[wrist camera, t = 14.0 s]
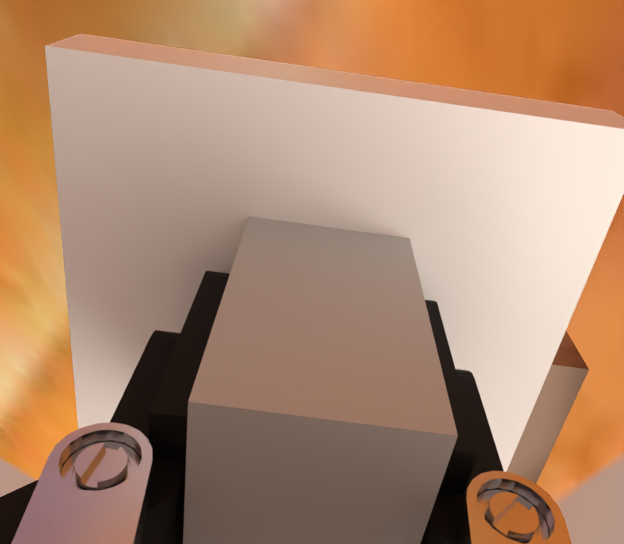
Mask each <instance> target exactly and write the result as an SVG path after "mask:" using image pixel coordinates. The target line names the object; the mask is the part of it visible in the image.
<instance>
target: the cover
mask: <svg viewBox="0 0 624 544" xmlns="http://www.w3.org/2000/svg"><path fill="white" fill-rule="evenodd" d="M45 53H46V64H47V76H48V87H49V98H50V110H51V121H52V133H53V144H54V155H55V167H56V178H57V190H58V201H59V213H60V224H61V235H62V247H63V258H64V270H65V281H66V292H67V304H68V315H69V327H70V338H71V349H72V361H73V372H74V384H75V395H76V407H77V418H78V429H80V428H82V427H85V426H89V425H93V424H97V423H110V421H111V419H112V416H113V414H114V412H115V410H116V408H117V406H118V404H119V402H120V400H121V398H122V395H123V393H124V391H125V389H126V387H127V385H128V383H129V381H130V379H131V377H132V374H133V372H134V370H135V368H136V366H137V364H138V362H139V360H140V358H141V356H142V354H143V351H144V349H145V347H146V345H147V343H148V341H149V339H150V337H151V335H152V333H153V332H154V331H155V330H160V331H167V332H175V333H181V331H182V328H183V326H184V323H185V321H186V318H187V316H188V313H189V311H190V308H191V306H192V303H193V301H194V298H195V296H196V293H197V291H198V288H199V286H200V284H201V281H202V279H203V276H204V274H205V272H206V271H214V272H222V273H229V274H230V275H229V278H228V281H227V284H226V287H225V291H224V294H223V297H222V300H221V303H220V306H219V309H218V312H217V315H216V318H215V321H214V324H213V327H212V330H211V333H210V336H209V339H208V342H207V346H206V349H205V352H204V355H203V358H202V361H201V364H200V367H199V370H198V373H197V376H196V379H195V382H194V385H193V388H192V391H191V394H190V397H189V401H188V419H187V446H186V474H185V501H184V529H183V544H420V543H421V540H422V537H423V535H424V532H425V529H426V526H427V523H428V520H429V517H430V514H431V512H432V509H433V506H434V503H435V500H436V497H437V494H438V491H439V489H440V486H441V483H442V480H443V477H444V474H445V471H446V468H447V466H448V463H449V460H450V457H451V454H452V451H453V448H454V445H455V443H456V440H457V437H458V434H457V430H456V426H455V422H454V418H453V414H452V410H451V406H450V401H449V397H448V393H447V389H446V385H445V381H444V377H443V373H442V369H441V365H440V360H439V356H438V352H437V348H436V344H435V340H434V336H433V332H432V328H431V324H430V319H429V315H428V311H427V307H426V303H425V300H432V301H436V302H437V304H438V307H439V311H440V315H441V318H442V322H443V326H444V329H445V333H446V336H447V340H448V344H449V347H450V351H451V355H452V358H453V362H454V366H455V369H460V370H468V371H470V372H472V374H473V376H474V378H475V381H476V384H477V387H478V391H479V394H480V397H481V400H482V403H483V406H484V410H485V413H486V416H487V419H488V422H489V426H490V429H491V432H492V435H493V438H494V442H495V445H496V448H497V451H498V454H499V458H500V461H501V464H502V467H503V470H504V471H505V472H506V471H507V469H508V467H509V464H510V462H511V460H512V457H513V455H514V452H515V450H516V448H517V445H518V443H519V441H520V438H521V436H522V433H523V431H524V429H525V426H526V424H527V422H528V419H529V417H530V414H531V412H532V410H533V407H534V405H535V403H536V400H537V398H538V395H539V393H540V391H541V388H542V386H543V384H544V381H545V379H546V376H547V374H548V372H549V369H550V367H551V365H552V362H553V360H554V357H555V355H556V353H557V350H558V348H559V346H560V343H561V341H562V338H563V336H564V334H565V331H566V329H567V327H568V324H569V322H570V319H571V317H572V315H573V312H574V310H575V308H576V305H577V303H578V300H579V298H580V296H581V293H582V291H583V289H584V286H585V284H586V281H587V279H588V277H589V274H590V272H591V270H592V267H593V265H594V262H595V260H596V258H597V255H598V253H599V251H600V248H601V246H602V243H603V241H604V239H605V236H606V234H607V232H608V229H609V227H610V224H611V222H612V220H613V217H614V215H615V213H616V210H617V208H618V205H619V203H620V201H621V198H622V196H623V194H624V117H622V116H621V115H619V114H618V113H616V112H614V111H613V110H607V109H600V108H593V107H586V106H579V105H572V104H565V103H558V102H551V101H544V100H538V99H531V98H524V97H517V96H510V95H503V94H496V93H489V92H482V91H475V90H469V89H462V88H455V87H448V86H441V85H434V84H427V83H420V82H413V81H406V80H400V79H393V78H386V77H379V76H372V75H365V74H358V73H351V72H344V71H337V70H331V69H324V68H317V67H310V66H303V65H296V64H289V63H282V62H275V61H268V60H262V59H255V58H248V57H241V56H234V55H227V54H220V53H213V52H206V51H199V50H193V49H186V48H179V47H172V46H165V45H158V44H151V43H144V42H137V41H130V40H124V39H117V38H110V37H103V36H96V35H89V34H82V33H80V34H77V35H74V36H71V37H68V38H66V39H63V40H60V41H57V42H54V43H51V44H48V45H45Z"/></svg>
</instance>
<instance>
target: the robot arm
mask: <svg viewBox="0 0 624 544" xmlns="http://www.w3.org/2000/svg"><path fill="white" fill-rule="evenodd" d="M229 275H230V274H229V273H222V272H214V271H206V272H205V274H204V276H203V279H202V281H201V284H200V286H199V288H198V291H197V293H196V296H195V298H194V301H193V303H192V306H191V308H190V311H189V313H188V316H187V318H186V321H185V323H184V326H183V328H182V331H181V333H175V332H167V331H160V330H155V331H154V332H153V333H152V335H151V337H150V339H149V341H148V343H147V345H146V347H145V349H144V351H143V354H142V356H141V358H140V360H139V362H138V364H137V366H136V368H135V370H134V372H133V374H132V377H131V379H130V381H129V383H128V385H127V387H126V389H125V391H124V393H123V395H122V398H121V400H120V402H119V404H118V406H117V408H116V410H115V412H114V414H113V416H112V419H111V421H110V423H97V424H93V425H89V426H85V427H82V428H80V429H78V430H76V431H74V432H72V433H70V434H68V435H67V436H66V437H65V438H63V439H62V440H61V441H60V442H59V443H58V444H56V446H55V448H54V449H53V451H52V452H51V454H50V455H49V457H48V460H47V462H46V464H45V467H44V469H43V471H42V473H41V476H40V478H39V480H37V481H34V482H32V483H30V484H28V485H26V486H24V487H21V488H19V489H17V490H15V491H13V492H11V493H9V494H6V495H4V496H2V497H0V544H183V529H184V501H185V474H186V446H187V419H188V401H189V397H190V394H191V391H192V388H193V385H194V382H195V379H196V376H197V373H198V370H199V367H200V364H201V361H202V358H203V355H204V352H205V349H206V346H207V342H208V339H209V336H210V333H211V330H212V327H213V324H214V321H215V318H216V315H217V312H218V309H219V306H220V303H221V300H222V297H223V294H224V291H225V287H226V284H227V281H228V278H229ZM425 303H426V307H427V311H428V315H429V319H430V324H431V328H432V332H433V336H434V340H435V344H436V348H437V352H438V356H439V360H440V365H441V369H442V373H443V377H444V381H445V385H446V389H447V393H448V397H449V401H450V406H451V410H452V414H453V418H454V422H455V426H456V430H457V434H458V437H457V440H456V443H455V445H454V448H453V451H452V454H451V457H450V460H449V463H448V466H447V468H446V471H445V474H444V477H443V480H442V483H441V486H440V489H439V491H438V494H437V497H436V500H435V503H434V506H433V509H432V512H431V514H430V517H429V520H428V523H427V526H426V529H425V532H424V535H423V537H422V540H421V543H420V544H571V540H570V537H569V533H568V530H567V526H566V523H565V520H564V517H563V515H562V513H561V511H560V508H559V506H558V505H557V504H556V503H555V501H554V500H553V499H552V498H551V496H550V495H549V494H548V493H547V492H546V491H544V490H543V489H542V488H541V487H539V486H538V485H537V484H536V483H534V482H532V481H530V480H528V479H526V478H524V477H523V476H520V475H517V474H513V473H510V472H505V471H504V470H503V467H502V464H501V461H500V458H499V454H498V451H497V448H496V445H495V442H494V438H493V435H492V432H491V429H490V426H489V422H488V419H487V416H486V413H485V410H484V406H483V403H482V400H481V397H480V394H479V391H478V387H477V384H476V381H475V378H474V376H473V374H472V372H470V371H468V370H460V369H455V366H454V362H453V358H452V355H451V351H450V347H449V344H448V340H447V336H446V333H445V329H444V326H443V322H442V318H441V315H440V311H439V307H438V304H437V302H436V301H432V300H425Z"/></svg>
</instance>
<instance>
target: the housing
mask: <svg viewBox="0 0 624 544" xmlns="http://www.w3.org/2000/svg"><path fill="white" fill-rule="evenodd" d="M588 370H589V369H588V367H587V365H586V364H585V362H584V360H583V359H582V357H581V355H580V353H579V352H578V350H577V348H576V347H575V345H574V343H573V342H572V340H571V338H570V336H569V335H568V333H567V331H565V334H564V336H563V338H562V341H561V343H560V346H559V348H558V350H557V353H556V355H555V357H554V360H553V362H552V365H551V367H550V369H549V372H548V374H547V376H546V379H545V381H544V384H543V386H542V388H541V391H540V393H539V395H538V398H537V400H536V403H535V405H534V407H533V410H532V412H531V414H530V417H529V419H528V422H527V424H526V426H525V429H524V431H523V433H522V436H521V438H520V441H519V443H518V445H517V448H516V450H515V452H514V455H513V457H512V460H511V462H510V464H509V467H508V469H507V471H506V472H510V473H513V474H517V475H520V476H523V477H524V478H526V479H528V480H530V481H532V482H534V483H537V480H538V478H539V476H540V474H541V472H542V470H543V468H544V465H545V463H546V461H547V459H548V457H549V455H550V452H551V450H552V448H553V446H554V444H555V442H556V440H557V437H558V435H559V433H560V431H561V429H562V427H563V424H564V422H565V420H566V418H567V416H568V414H569V411H570V409H571V407H572V405H573V403H574V401H575V399H576V396H577V394H578V392H579V390H580V388H581V386H582V383H583V381H584V379H585V377H586V375H587V373H588Z"/></svg>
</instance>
